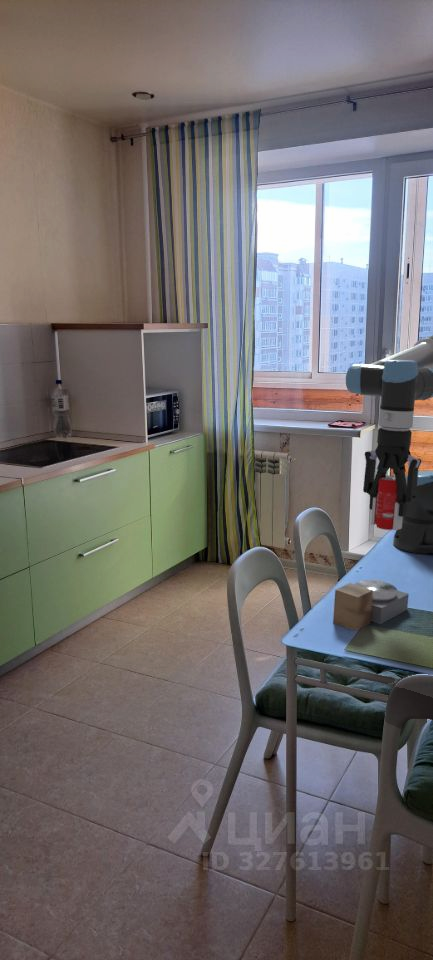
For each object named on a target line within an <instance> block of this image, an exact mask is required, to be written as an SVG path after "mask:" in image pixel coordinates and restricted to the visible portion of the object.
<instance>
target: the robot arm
mask: <svg viewBox="0 0 433 960" xmlns="http://www.w3.org/2000/svg"><path fill="white" fill-rule="evenodd" d="M345 386H346V390H348V392H350V393H351V394H357V395H360V396H371V397H372V396H374V397H380V407H379V415H378V416H379V418H378V426H379V427H380V428H378V429H377V437H376V438H377V439H376V442H377V446H376V448H375V450H367V451H365V452H364V457H365V458H364V459H365V470H364V479H363V488H362V489H363V490H362V492H363V493H365V494H368V495H369V498H370V499H369V510H371V518H370V525H371V526H374V525H376V522H375V519H376V507H377V496H378V485H379V479H380V477H382V476H385V475H387V474H388V473H387V472H388V471H389V469H391V470H392V472H393V475H394V476H395V479H396V486H397V493H398V500H399V501H397V502H395V511H394V522H393V530H392V531H395V533H394V535H393V540H392V545H393V546H394V547H395V548H397V549H399V550H402V551H405V552H409V553H414V554H427V555H428V553H433V470H422V471H421V470H420V471H419V469H420V466H421V464H422V458H417V457H414V456H412V454H411V451H410V448H411V445H412V435H413V432H412V430H410V429H412V428H413V424H414V423H413V422H414V415H415V414H414V410H415V401H426V400H428V399H432V398H433V334H432V335H430V336H427V337H424V338H422V339H419V340H418V341H416V343H414V345H413V346H412V347H409V348H407V349H405V350H404V349H403V350H401V351H400V352H397V353H394V354H392V355H389V356H387V357H385V358H383V359H382V358H381V359H380V360H377V361H375V362H372V363H368V364H365V363H363V362H362V363H353V364H352V365H350V366H349V368H347V371H346V374H345ZM377 459H378V461H379V462H378V465H377ZM406 464H407V465H408V469H407V468H406ZM376 465H377V467H376ZM376 468H377V469H376ZM406 469H407V471H406ZM376 470H377V471H376ZM406 472H407V475H406Z"/></svg>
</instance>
